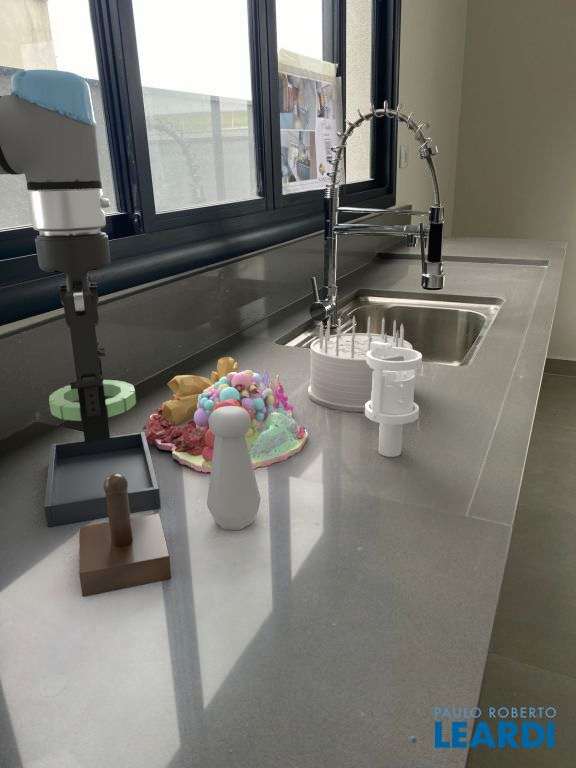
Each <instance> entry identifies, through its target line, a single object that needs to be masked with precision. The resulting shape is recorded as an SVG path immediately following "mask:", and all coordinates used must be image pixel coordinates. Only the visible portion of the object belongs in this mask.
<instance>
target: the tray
mask: <svg viewBox="0 0 576 768" xmlns="http://www.w3.org/2000/svg"><path fill="white" fill-rule="evenodd" d="M145 433H146V432H145V431H140V432H131V433H125V434H118V435H117V434H116V435H110V439H108V440H101V441H94V442H86V443H85V439H80V440H71V441H65V442H57V443H51V445H50V453H49V460H48V461H49V462H48V471H47V478H46V488H45V496H44V505H43V508H44V516H45V520H46V526H47V527H48V528H50V527H55V526H63V525H68V524H73V523H79V522H86V521H92V520H98V519H103V518H108V510H107V502H106V494H105V491H104V482H105V480H106V478H107V477H109V476H110V475H112V474H120V475H122V476H124V477H125V478H126V480H127V482H128V488H127V491H128V500H129V508H130V514H132V513H138V512H145V511H150V510H156V509H161V507H162V506H161V505H162V504H161V495H160V487H159V483H158V479H157V475H156V471H155V467H154V463H153V459H152V456H151V452H150V447H149V442H148V441H147V439H146V435H145Z"/></svg>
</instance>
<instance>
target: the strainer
mask: <svg viewBox="0 0 576 768" xmlns="http://www.w3.org/2000/svg"><path fill="white" fill-rule="evenodd" d="M397 354H398V355H399V356H401V357H404V361H386V360H381V356H396V355H397ZM366 363H367V364H368V365H369V366H370V367H369V368H372V369H374V372H373V374H372V392H371V400H370V401H368V402H367V403H366V404H365V412H364V416H365V417H366V418H367V419H369V420H370V421H372V422H375V423H377V424H379V427H378V450H377V452H378V453H379V455H381V456H382V457H383V456H384V457H386V458H387V457H389V458H395V457H398V456H400V455H402V441H403V425H405V424H410V423H413V422H415V421H416V420H417V419H419V414H420V413H419V412H420V406H419V405H418V404H417V403H416V402H414V397H415V382H416V381H415V380H416V369H418V368H421V366H422V364H423V354H422V353H421V352H420V351H418V350H416V349H413V350H412V349H408V348H400V347H392V344H390V343H383V342H379V341H373V342H370V351H368V352H367V358H366Z"/></svg>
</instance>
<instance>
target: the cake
mask: <svg viewBox="0 0 576 768" xmlns="http://www.w3.org/2000/svg"><path fill="white" fill-rule="evenodd" d="M385 321H386V320H385V317H384V316H382V320H381V333H371V317H370V315H368V318H367V332H366V333H363V332H356V317H355V315H353V317H352V332H351V333H342V319H341V316H339V319H338V325H337V327H336V334H332V335H331V321H330V319H329V318H328V319H327V322H326V323H327V324H326V325H327V328H326V329H325V331H324V324H323V321H321V323H320V327H319V338H317V339H315V340H313V341H312V342H311V343H310V350H309V351H310V369H309V370H310V372H309V373H310V377H309V378H310V384H309V385H308V387H307V396H308V397H309V399H310V400H311V401H313V402H314V403H315V404H317V405H320V406H322V407H326V408H329V409H333V410H336V411H343V412H352V413H365V404H366V403H367V402H368V401H370V400H371V392H372V374H373V372H374V369H372V368H369V367H370V366H369V365H368V364H367V363H366V358H367V352H368V351H370V342H373V341H379V342H383V343H390V344H392V347H400V348H408V349H412V350H414V348H413V347H414V346H413V345H412V344H411V343H410V342H409V341H407V340H405V328H404V325H403V324H404V323H403V322H401V325H400V329H399V330H397V322H396V321H397V320H396V319H394V320H393V329H392V335H388V334H387V332H386V333H385V323H386V322H385ZM381 360H386V361H404V357H401V356H399V355H398V354H397V355H396V356H381Z"/></svg>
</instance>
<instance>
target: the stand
mask: <svg viewBox="0 0 576 768" xmlns="http://www.w3.org/2000/svg"><path fill="white" fill-rule="evenodd" d="M127 488H128V482H127V480H126V478H125V477H124V476H122V475H120V474H112V475H110V476H109V477H107V478H106V480H105V482H104V491H105V494H106V502H107V510H108V517H107V519H108V522H101V523H95V524H90V525H85V526H79V527H78V533H79V534H78V576H79V584H80V590H81V597H86V596H92V595H98V594H100V593H107V592H111V591H117V590H121V589H127V588H130V587H131V588H132V587H137V586H142V585H145V584H150V583H151V584H152V583H156V582H160V581H165V580H170V579H172V570H171V559H170V553H169V549H168V548H169V547H168V544H167V540H166V537H165V532H164V528H163V524H162V523H163V522H162V520H161V515H160V513H154V514H148V515H142V516H136V517H131V513H130V508H129V500H128V491H127Z"/></svg>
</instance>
